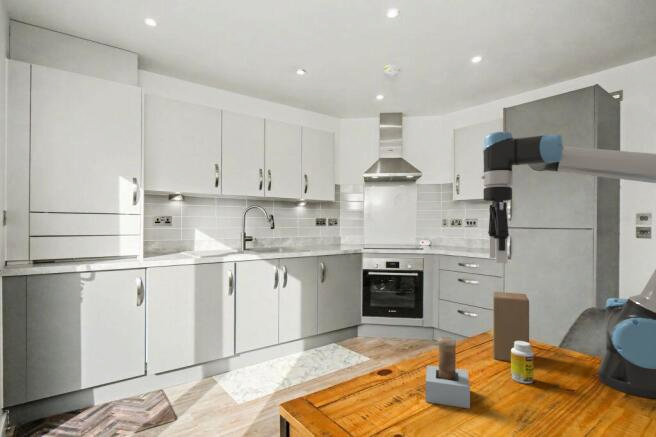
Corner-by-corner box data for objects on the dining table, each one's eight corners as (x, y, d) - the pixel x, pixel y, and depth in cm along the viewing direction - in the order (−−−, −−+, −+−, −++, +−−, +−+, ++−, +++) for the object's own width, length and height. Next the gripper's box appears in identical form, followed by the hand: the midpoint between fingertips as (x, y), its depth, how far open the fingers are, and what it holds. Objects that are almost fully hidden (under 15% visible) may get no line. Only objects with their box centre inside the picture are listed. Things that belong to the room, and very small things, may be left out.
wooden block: (526, 354, 118) (526, 293, 118) (529, 365, 109) (529, 299, 109) (493, 349, 122) (493, 291, 122) (493, 359, 113) (493, 296, 113)
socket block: (466, 389, 93) (467, 370, 93) (469, 408, 83) (469, 387, 83) (427, 383, 96) (427, 365, 96) (425, 401, 86) (425, 380, 86)
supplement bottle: (527, 386, 95) (527, 347, 95) (506, 378, 99) (506, 341, 99) (537, 381, 98) (537, 344, 98) (517, 374, 102) (517, 338, 102)
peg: (455, 392, 91) (455, 337, 91) (455, 400, 87) (456, 343, 87) (438, 390, 92) (438, 336, 92) (438, 397, 88) (438, 341, 88)
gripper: (479, 190, 116) (479, 256, 116) (489, 182, 92) (488, 264, 92) (504, 190, 114) (504, 256, 113) (521, 181, 90) (521, 265, 90)
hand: (497, 260), depth 103 cm, fingers open, 13 cm apart
